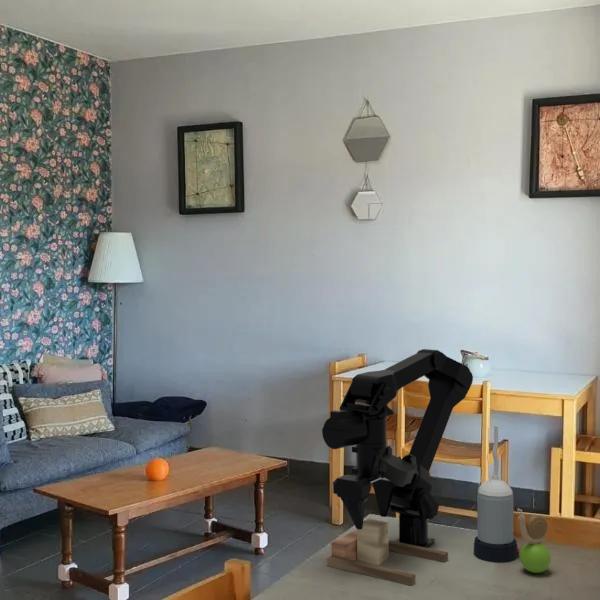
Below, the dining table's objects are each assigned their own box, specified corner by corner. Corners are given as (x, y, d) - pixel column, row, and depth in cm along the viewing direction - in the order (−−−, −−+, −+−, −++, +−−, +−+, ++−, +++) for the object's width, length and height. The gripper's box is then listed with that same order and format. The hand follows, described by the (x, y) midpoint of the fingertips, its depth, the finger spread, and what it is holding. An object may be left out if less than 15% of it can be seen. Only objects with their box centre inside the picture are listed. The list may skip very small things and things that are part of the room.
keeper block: (368, 554, 157) (368, 518, 156) (388, 558, 154) (388, 522, 154) (357, 560, 153) (356, 524, 153) (377, 565, 150) (377, 528, 150)
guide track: (367, 543, 163) (367, 523, 163) (447, 559, 153) (447, 539, 153) (327, 565, 150) (327, 544, 150) (411, 585, 140) (411, 563, 140)
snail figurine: (509, 570, 147) (508, 505, 147) (537, 564, 150) (537, 500, 149) (528, 580, 142) (528, 513, 142) (557, 574, 145) (557, 508, 144)
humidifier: (526, 558, 153) (526, 427, 152) (492, 565, 150) (491, 431, 149) (498, 545, 161) (497, 420, 160) (465, 552, 157) (464, 424, 156)
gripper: (384, 455, 140) (385, 544, 141) (431, 437, 156) (432, 517, 156) (330, 448, 147) (331, 533, 147) (381, 431, 162) (381, 508, 163)
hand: (371, 522), depth 153 cm, fingers open, 9 cm apart
